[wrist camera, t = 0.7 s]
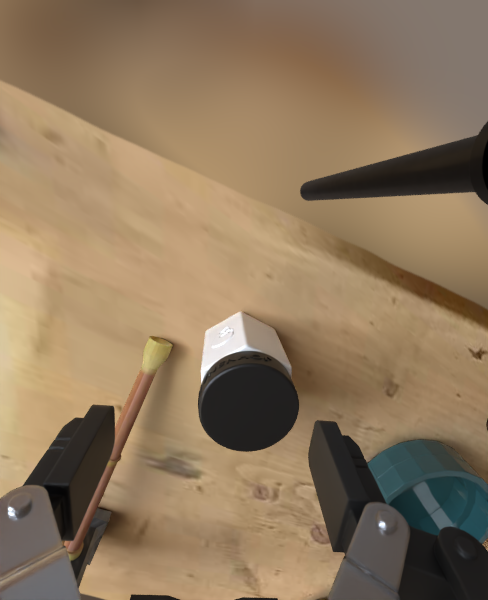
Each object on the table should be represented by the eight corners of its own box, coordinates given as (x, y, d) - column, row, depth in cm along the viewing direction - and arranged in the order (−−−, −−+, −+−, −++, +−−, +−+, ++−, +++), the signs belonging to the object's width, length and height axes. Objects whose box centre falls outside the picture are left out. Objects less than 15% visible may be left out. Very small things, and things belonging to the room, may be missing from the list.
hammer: (185, 376, 27) (40, 708, 27) (186, 339, 43) (94, 549, 43) (115, 350, 26) (-36, 695, 26) (143, 321, 42) (49, 537, 42)
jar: (256, 298, 36) (273, 342, 25) (290, 355, 38) (321, 420, 27) (187, 338, 37) (172, 399, 25) (225, 392, 39) (227, 470, 28)
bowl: (334, 466, 43) (352, 507, 38) (444, 416, 42) (479, 449, 37) (374, 542, 48) (395, 589, 42) (474, 498, 47) (510, 540, 41)
